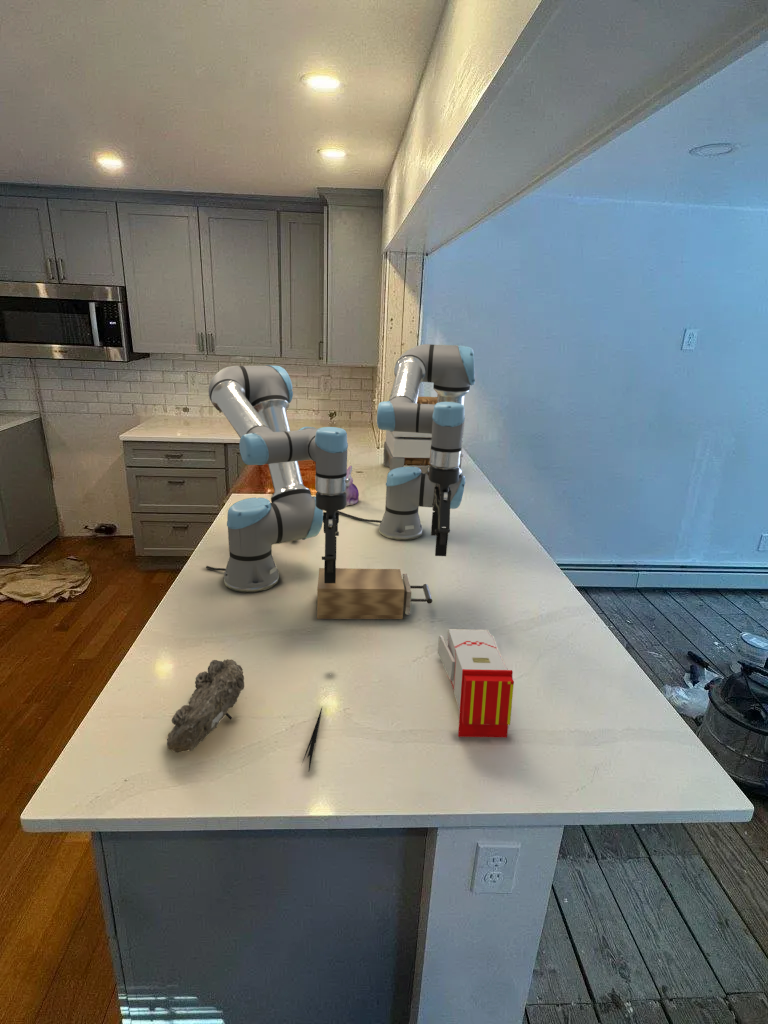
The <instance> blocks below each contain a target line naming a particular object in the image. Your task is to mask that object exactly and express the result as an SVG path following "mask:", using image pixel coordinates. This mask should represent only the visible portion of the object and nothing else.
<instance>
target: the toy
mask: <svg viewBox="0 0 768 1024" xmlns="http://www.w3.org/2000/svg"><path fill="white" fill-rule="evenodd" d="M446 640H447V643H446V641H445V639H444V636H443V635H442V634H439V637H438V646H437V656H438V657H439V659H440V661H441V663H442V666H443V668H444V670H445V672H446V674H447V677H448V679H449V681H450V684H451V687H452V690H453V693H454V697H455V701H456V705H457V708H458V711H459V714H458V715H459V716H458V730H457V731H458V732H457V737H458V738H508V731H509V726H510V725H511V717H512V707H513V697H514V696H513V695H514V684H515V680H514V679H513V673H514V671H513V670H512V669H508V667H507V665H506V662H505V661H504V659H503V658H502V655H501V653H500V651H499V649H498V647H497V643H496V639H495V637H494V635H493V634H491V632H490V631H489V629H467V628H466V629H465V628H463V629H461V628H460V629H459V628H448V630H447V639H446Z"/></svg>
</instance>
